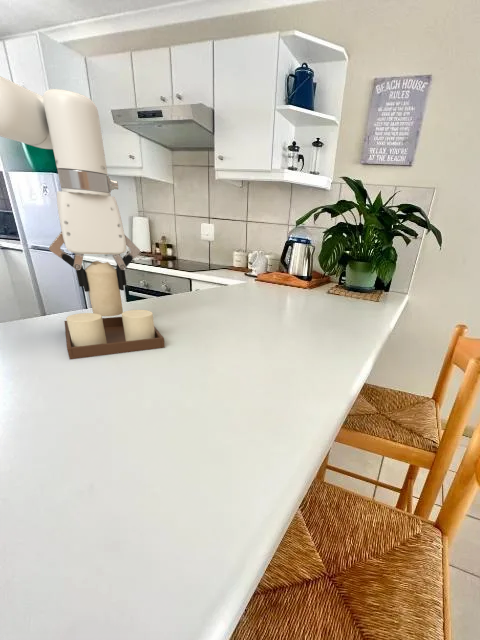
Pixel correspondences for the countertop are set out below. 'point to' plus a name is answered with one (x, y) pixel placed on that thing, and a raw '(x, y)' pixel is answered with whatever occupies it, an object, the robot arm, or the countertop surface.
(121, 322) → the tray
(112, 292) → the candle
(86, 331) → the cream candle left
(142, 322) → the cream candle right
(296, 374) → the countertop surface
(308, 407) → the countertop surface
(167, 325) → the countertop surface
